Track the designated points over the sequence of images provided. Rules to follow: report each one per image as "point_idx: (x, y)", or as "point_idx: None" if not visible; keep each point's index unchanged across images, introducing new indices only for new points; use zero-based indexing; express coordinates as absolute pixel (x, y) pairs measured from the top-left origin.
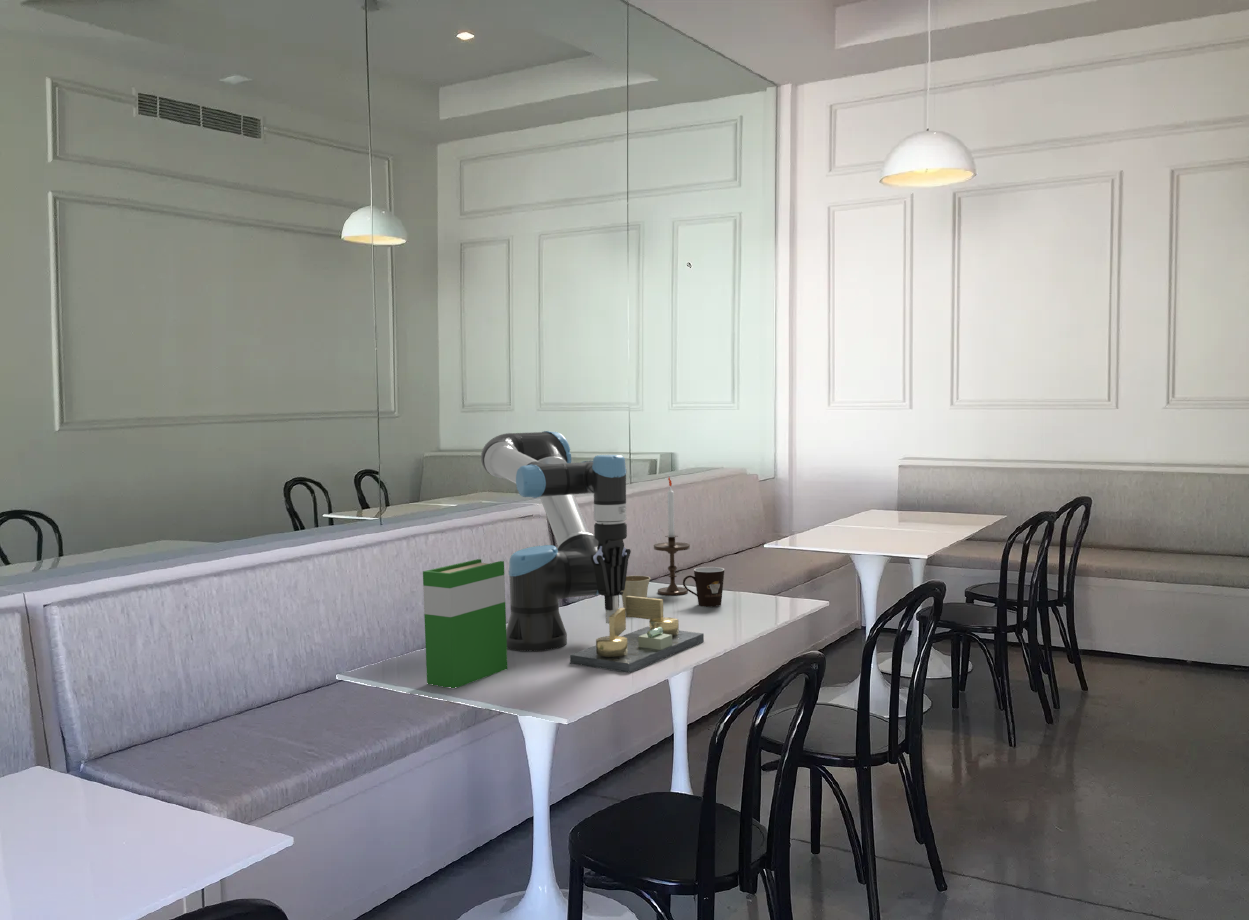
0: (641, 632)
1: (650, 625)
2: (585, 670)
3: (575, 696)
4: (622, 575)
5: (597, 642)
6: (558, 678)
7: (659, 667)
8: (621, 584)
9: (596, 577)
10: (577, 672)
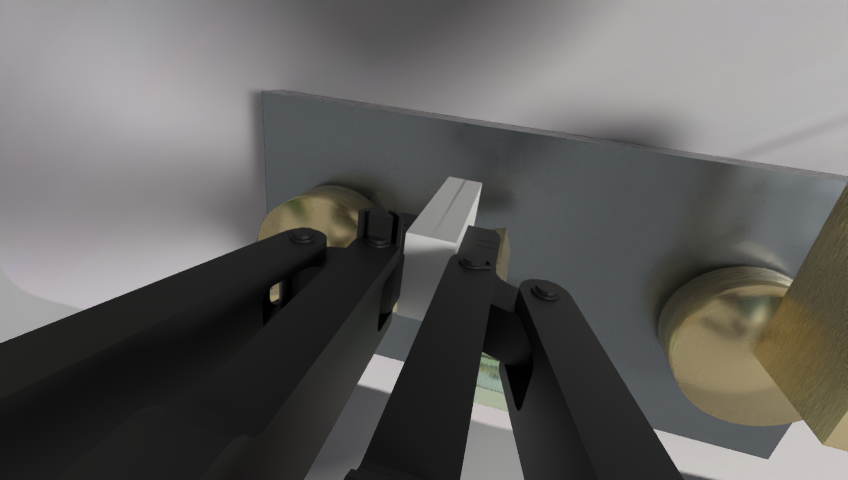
0: (757, 216)
1: (705, 302)
2: (245, 183)
3: (77, 260)
4: (525, 468)
5: (264, 220)
6: (144, 145)
7: (370, 367)
8: (504, 386)
9: (137, 300)
10: (217, 169)
